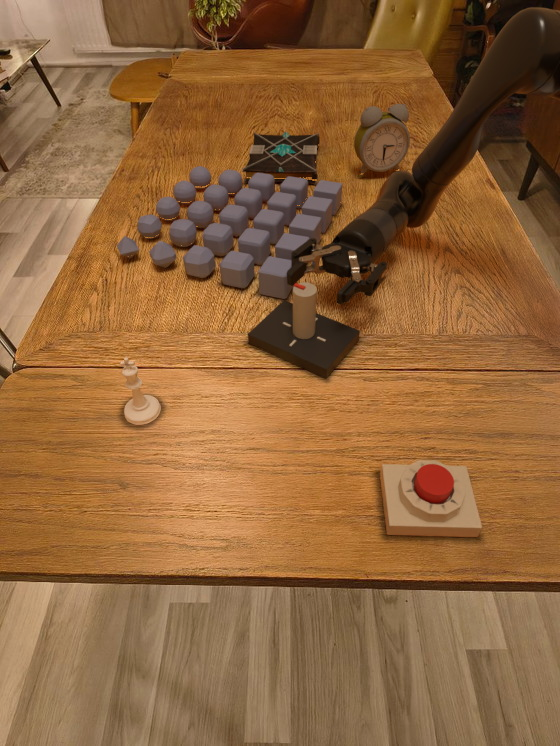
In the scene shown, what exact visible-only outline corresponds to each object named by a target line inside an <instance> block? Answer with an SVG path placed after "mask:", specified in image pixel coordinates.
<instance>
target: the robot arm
mask: <svg viewBox="0 0 560 746" xmlns="http://www.w3.org/2000/svg"><path fill="white" fill-rule="evenodd" d="M514 94H517V95H527V96H528V95H529V96H536V97H537V96H538V97H545V98H546V97H547V98H552V99H554V100H557V101H559V102H560V10H557V9H553V8H547V7H527V8H525V9H522V10H520V11H518V12H516V14H514V15H512V17H511V18H509V20H508V21H507V22H506V23H505V25H504V26H503V27H502V28H501V30H500V31H499V32H498V33H497V35H496V37H495V38H494V40H493V41H492V43H491V44H490V46H489V48H488V49H487V50H486V52H485V55H484V56H483V58H482V60H481V61H480V63H479V65H478V66H477V69H476V70H475V71H474V73H473V75H472V77H471V78H470V80H469V82H468V84H467V86H466V87H465V89H464V90H463V92H462V94H461V96H460V98H459V99H458V101H457V103H456V104H455V107H454V108H453V110H452V111H451V113H450V114H449V117H448V118H447V119H446V121H445V123H444V124H443V125H442V127H441V128H440V129H439V130H438V131H437V133H436V134H435V135H434V137H433V138H432V139H431V140H430V141H429V142H428V144H427V145H426V147H425V148H423V150H422V151H421V152H420V154H419V155H418V156H417V157H416V159H415V160H414V162H413V163H412V166H411V172H409V171H408V170H400V171H397V172H396V171H395V172H393V173H391V174H390V175H389V176H388V177H387V178H386V180H385V181H384V182H383V184H382V186H381V187H380V190H379V191H378V194H377V197H376V198H375V199H376V200H375V201H374V202H373V204H372V205H371V206H369V207H368V208H367V209H366V210H364V211H363V212H362V213H360V214H358V215H357V216H356V217H355V218H354V219H352V221H351V222H349V223H348V224H347V225H345V227H344V228H342V229H341V230H340V231H339V232H338V233H337V234H336V235H335V236H334V238H333V239H332V241H331V242H330V243H328V244H324V245H320V244H319V243H318V244H316V242H317V240H316V239H315V238H311V239H309V240H308V241H306V242H305V243H304V244H302V245H301V246H300V247H298V248H297V249H296V250H294V251H293V252H292V253H291V268H290V269H289V270H288V271H287V283H288V285H291V286H293V285H294V284H295V283H298V282H299V281H300V280H301V279H302V278H303V277H304V276H305V275H306V274H310V273H314V274H315V275H318V274H324V273H327V274H330V275H335V276H336V277H338V278H341V279H344V278H347V282H346V283H345V284H344V285H343V286H342V287H341V288H340V289H339V290H338V291H337V294H336V304H337V305H340V306H343V304H347V303H349V302H351V300H352V299H353V298H354V297H355V296H356V295H359V294H360V293H364V295H365V296H366V297H371V296H373V295H374V293H375V292H376V291H377V289H378V288H379V287H380V286H381V284H382V283H383V282H384V280H385V279H386V275H387V268H388V263H387V262H385V261H380V262H379V263H378V264H376V262H377V261H378V260H379V259H380V258H381V257H383V255H384V254H386V253H387V251H388V250H389V249H390V247H391V246H392V244H393V243H394V242H395V241H396V240H397V239H398V238H399V236H401V235H402V233H403V232H404V231H405V230H406V228H409V229H416V228H420V227H422V226H423V225H424V224H426V223H427V222H428V221H429V220H430V218H431V217H432V215H433V213H434V212H435V211H436V208H437V206H438V204H439V202H440V199H441V197H442V195H443V193H445V191H446V189H447V187H449V186H450V184H451V183H452V182H453V181H454V180H455V179H456V178H457V177H458V176H459V175H460V174H461V173H463V171H464V170H465V169H466V168H467V167H468V166H469V164H470V163H471V162H472V160H473V159H474V157H475V156H476V154H477V152H478V149H479V147H480V144H481V140H482V136H483V130H484V127H485V124H486V122H487V120H488V118H490V116H491V115H492V113H493V112H494V111H495V110H496V109H497V108H498V107H499V106H501V105H502V104H503V103H504V102H506V100H508V99H509V98H510V97H511V96H512V95H514ZM320 259H321V263H322V265H320ZM308 263H311V264H310V265H307V264H308ZM369 272H370V274H369V275H368V277H366V279H362V276H361V275H365V274H368V273H369ZM293 287H294V286H293Z"/></svg>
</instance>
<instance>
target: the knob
mask: <svg viewBox="0 0 560 746" xmlns="http://www.w3.org/2000/svg"><path fill="white" fill-rule="evenodd" d="M317 295H318V289H317V286H316V285H315V284H314V283H311V282H307V281H306V282H305V281H302V282H299V283H298V282H296V283H295V284H294V286H293V288H292V303H293V334H294V336H296V337H297V338H299V339H309V338H311V337H313V336H314V334H315V321H316V313H317Z"/></svg>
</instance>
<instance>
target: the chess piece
mask: <svg viewBox="0 0 560 746" xmlns="http://www.w3.org/2000/svg"><path fill="white" fill-rule="evenodd" d="M119 366H120V367H123V368H121V375H122V376H123V377H124V378H125V379H126V380H125V387H126V389H128V390H131V393H132V398H131V399H130V400H128V401H127V402H126V404H125V406H124V408H123V413H124V418H125V419H126V420H125V421H127V422H129V423H130V424H132V425H137V426H142V425H147V424H150V423H152V422H153V421H155V420H156V419H157V418H158V417H159V416H160V414H161V412H162V411H161V409H162V407H161V406H162V405H161V404H160V402H159V400H158V398H156V397H155V396H153V395H150V394H143V391H142V390H141V387H142V385H143V380H142V379H141V378H140V377H139V376H138V373H139V368H138V366H137V365H136V363H135V361H133V360H129V357H124V358H123V360H120V363H119Z"/></svg>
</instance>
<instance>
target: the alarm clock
mask: <svg viewBox="0 0 560 746" xmlns="http://www.w3.org/2000/svg"><path fill="white" fill-rule="evenodd" d="M409 118H410V112H409V109H408V107H407V105H406V104H405V103H395V104H392V105H391V106H390V107H388V108H387V111H383V110H382V109H381V108H380V107H379V106H375V105H372V106H368V107H366V108H365V109H364V110H363V111H362V112H361V115H360V125H359V126H358V129H357V130H356V133H355V135H354V140H353V147H354V152H355V155H356V156H357V158H358V160H359V161H360V162H361V163H362V166H361V168H360V171H361V173H365V172H366V173H367V172H368V171H369V170H370V171H371V172H375V173H384V172H387V171H390V170H394V169H395V170H398V169H400V163H401V162H402V161H403V160H404V158H405V157H406V155H407V153H408V151H409V148H410V144H411V135H410V131H409V129H408V127H407V126H406V125H407V123H408V122H409ZM395 170H394V171H395ZM395 172H397V171H395ZM366 173H365V174H366ZM363 177H364V175H360V173H359V174H358V179H362V178H363Z"/></svg>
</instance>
